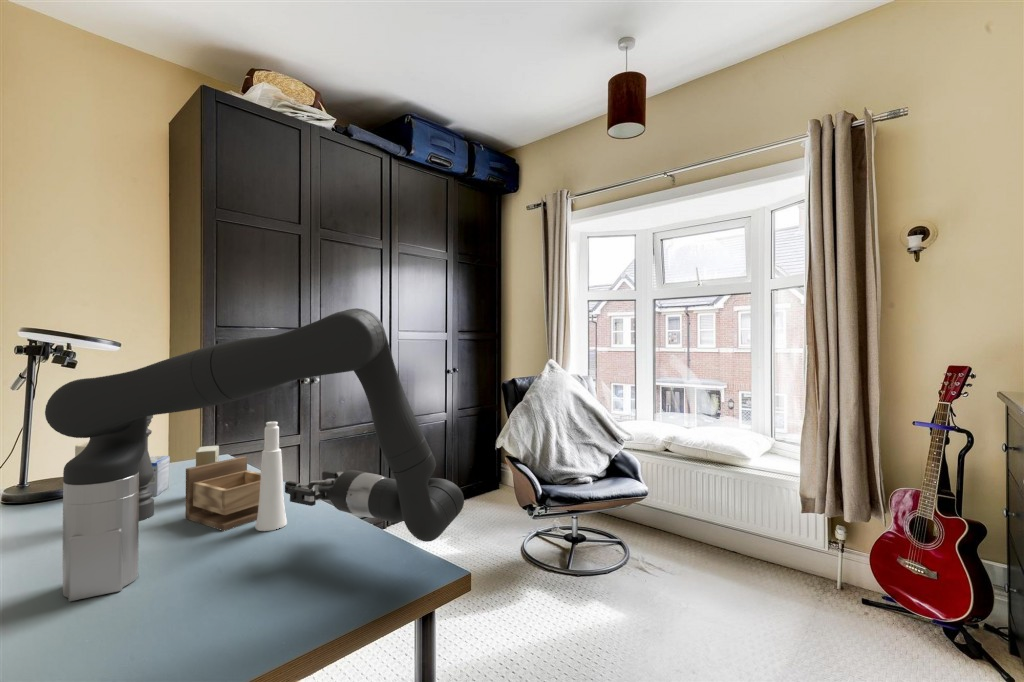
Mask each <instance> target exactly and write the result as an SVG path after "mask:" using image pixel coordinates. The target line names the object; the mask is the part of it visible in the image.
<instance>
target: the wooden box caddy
mask: <svg viewBox="0 0 1024 682" xmlns="http://www.w3.org/2000/svg"><path fill="white" fill-rule="evenodd" d="M260 479H261V472H256V471H252V470H248V456H239V457H234V458H229V459H225V460H219V462H215V463H210V464H205V465H200V466H196V465H195V466H191V467H187V468H185V519H186V520H190V521H193V522H194V523H198V524H201V525H204V526H207V525H208V526H207V527H210V526H211V528H213V527H215V528H214V529H216V528H218V529H217V530H219V529H221V530H220V531H222V530H223V532H225V531H228V530H231V529H234V528H237V527H240V526H243V525H245V524H248V523H251V522H254V521H255V522H256V521H257V515H258V507H259V496H260ZM236 526H237V527H236ZM233 527H234V528H233ZM230 528H231V529H230ZM227 529H228V530H227ZM224 530H225V531H224Z"/></svg>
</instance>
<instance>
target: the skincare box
mask: <svg viewBox="0 0 1024 682" xmlns="http://www.w3.org/2000/svg"><path fill="white" fill-rule="evenodd" d="M219 461H220V445H207V446H206V445H205V446H199V448H197V449H196V452H195V467H196V466H200V465H205V464H210V463H215V462H219Z"/></svg>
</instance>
